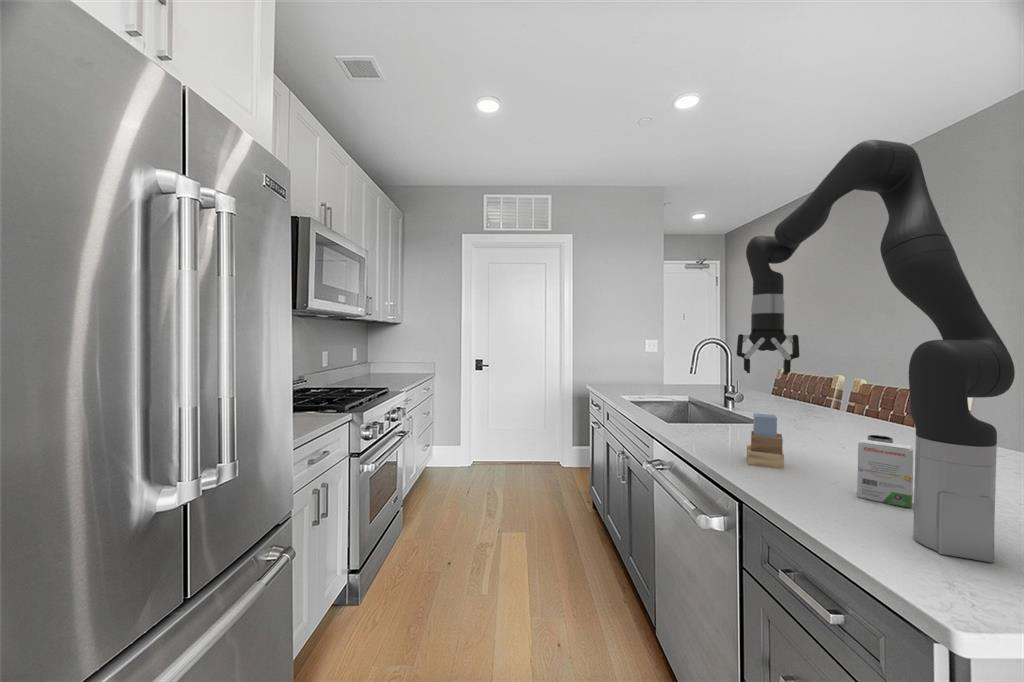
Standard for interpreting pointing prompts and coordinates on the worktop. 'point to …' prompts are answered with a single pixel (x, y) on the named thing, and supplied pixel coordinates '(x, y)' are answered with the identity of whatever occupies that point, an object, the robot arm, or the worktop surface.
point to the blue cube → (765, 425)
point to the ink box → (885, 472)
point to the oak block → (764, 459)
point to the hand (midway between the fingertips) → (766, 373)
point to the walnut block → (767, 444)
